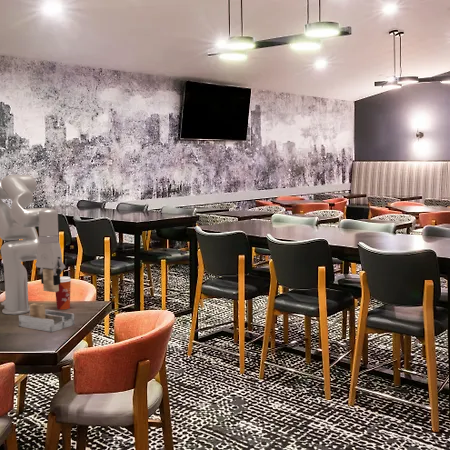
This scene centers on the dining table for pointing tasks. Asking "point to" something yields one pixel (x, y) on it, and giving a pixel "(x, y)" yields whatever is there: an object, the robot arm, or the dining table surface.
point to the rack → (48, 321)
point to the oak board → (37, 310)
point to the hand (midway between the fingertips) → (50, 283)
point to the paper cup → (63, 293)
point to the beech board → (49, 281)
